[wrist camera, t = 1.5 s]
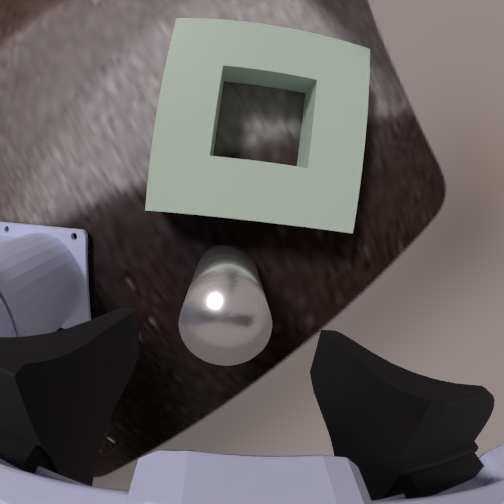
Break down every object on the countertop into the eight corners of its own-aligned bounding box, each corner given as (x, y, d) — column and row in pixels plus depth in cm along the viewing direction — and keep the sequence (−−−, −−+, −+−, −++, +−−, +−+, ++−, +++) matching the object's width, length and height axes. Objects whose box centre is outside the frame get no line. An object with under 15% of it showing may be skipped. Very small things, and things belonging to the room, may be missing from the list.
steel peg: (195, 297, 21) (177, 360, 13) (199, 240, 20) (180, 278, 12) (252, 302, 21) (265, 368, 13) (260, 246, 20) (278, 287, 12)
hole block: (157, 205, 19) (145, 210, 16) (183, 37, 16) (176, 18, 14) (336, 225, 20) (352, 233, 17) (353, 63, 18) (370, 49, 15)
